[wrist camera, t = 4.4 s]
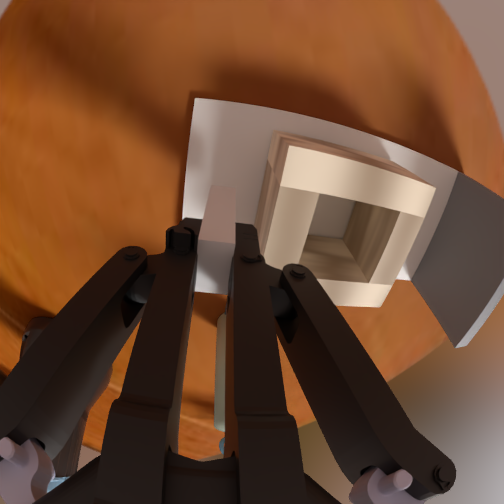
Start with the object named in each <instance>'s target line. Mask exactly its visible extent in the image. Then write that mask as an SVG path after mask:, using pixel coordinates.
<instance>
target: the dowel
mask: <svg viewBox="0 0 504 504" xmlns="http://www.w3.org/2000/svg"><path fill="white" fill-rule="evenodd" d="M225 346H226V315H225V313H223V314H222V315H220V317H219V318H218V321H217V339H216V365H215V401H214V427H215V428H216V429H218V430H220V431H223V432H225Z"/></svg>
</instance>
